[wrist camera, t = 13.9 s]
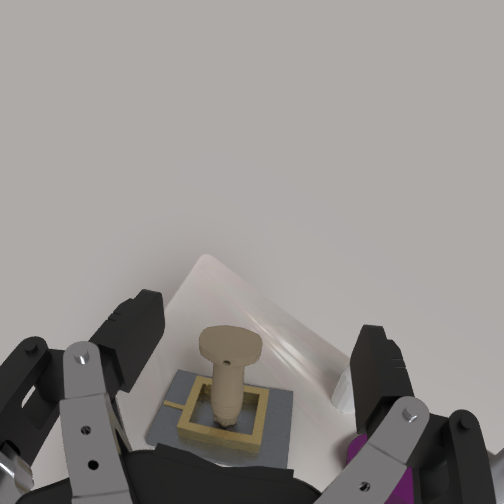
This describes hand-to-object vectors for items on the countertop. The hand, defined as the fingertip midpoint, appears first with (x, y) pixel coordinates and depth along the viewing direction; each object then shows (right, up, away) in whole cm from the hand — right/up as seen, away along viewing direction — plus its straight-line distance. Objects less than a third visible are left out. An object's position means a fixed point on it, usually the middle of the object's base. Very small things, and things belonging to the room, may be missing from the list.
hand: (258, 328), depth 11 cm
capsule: (+15, -21, +29) cm, 39 cm away
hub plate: (-4, -20, +24) cm, 32 cm away
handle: (-4, -20, +24) cm, 31 cm away
